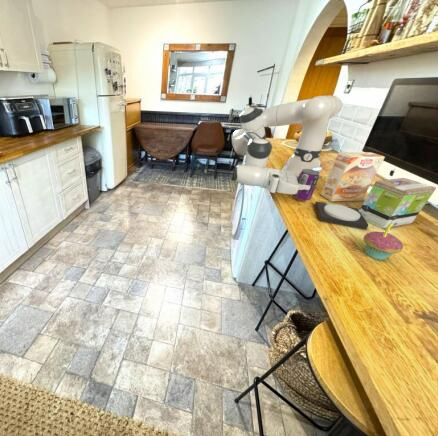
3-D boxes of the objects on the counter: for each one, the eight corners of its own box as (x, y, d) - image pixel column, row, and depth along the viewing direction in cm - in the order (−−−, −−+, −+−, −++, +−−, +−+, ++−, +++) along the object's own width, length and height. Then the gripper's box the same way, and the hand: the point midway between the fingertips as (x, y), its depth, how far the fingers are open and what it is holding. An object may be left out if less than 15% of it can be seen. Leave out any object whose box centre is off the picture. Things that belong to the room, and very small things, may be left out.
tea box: (384, 229, 84) (407, 191, 76) (355, 216, 92) (374, 180, 84) (412, 223, 87) (438, 186, 80) (382, 211, 96) (403, 176, 88)
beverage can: (312, 202, 99) (324, 174, 93) (294, 200, 100) (304, 173, 94) (306, 195, 105) (316, 169, 99) (289, 194, 106) (298, 167, 100)
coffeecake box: (331, 201, 102) (351, 156, 92) (319, 195, 108) (337, 152, 99) (363, 200, 104) (386, 156, 94) (349, 194, 110) (370, 151, 100)
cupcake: (383, 267, 66) (407, 231, 60) (350, 249, 73) (369, 215, 67) (400, 259, 69) (424, 224, 63) (367, 243, 76) (386, 210, 70)
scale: (314, 205, 99) (316, 198, 98) (354, 212, 94) (358, 205, 93) (319, 220, 88) (322, 213, 87) (366, 229, 83) (370, 222, 82)
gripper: (270, 178, 114) (303, 182, 109) (270, 194, 97) (309, 200, 93) (274, 165, 110) (308, 169, 106) (274, 179, 94) (315, 185, 90)
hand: (308, 184), depth 99 cm, fingers closed on beverage can, 6 cm apart
